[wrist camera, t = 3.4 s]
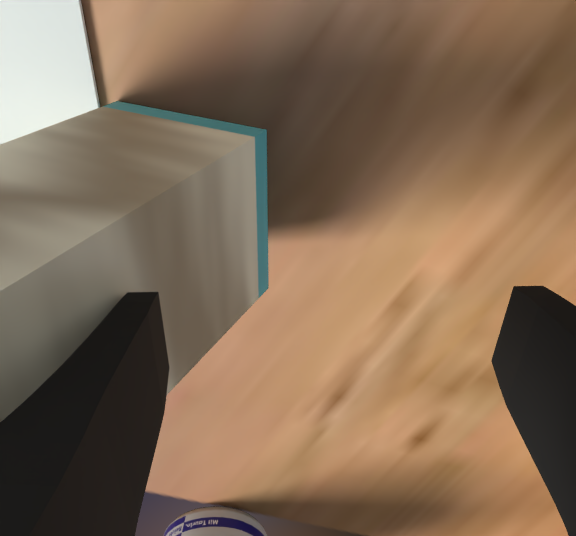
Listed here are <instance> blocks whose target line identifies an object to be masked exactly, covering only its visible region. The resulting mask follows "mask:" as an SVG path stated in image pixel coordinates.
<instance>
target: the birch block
mask: <svg viewBox="0 0 576 536" xmlns="http://www.w3.org/2000/svg"><path fill="white" fill-rule="evenodd" d="M267 289H268V204H267V130H266V129H260V128H255V127H250V126H245V125H240V124H234V123H229V122H224V121H219V120H214V119H208V118H203V117H198V116H193V115H187V114H182V113H177V112H172V111H167V110H161V109H156V108H151V107H146V106H140V105H135V104H130V103H125V102H120V101H116V102H113V103H111V104H108V105H105V106H102V107H100V108H97V109H94V110H92V111H89V112H86V113H84V114H81V115H78V116H76V117H73V118H70V119H68V120H65V121H62V122H59V123H57V124H54V125H51V126H49V127H46V128H43V129H41V130H38V131H35V132H33V133H30V134H27V135H25V136H22V137H19V138H16V139H14V140H11V141H8V142H6V143H3V144H0V422H1V421H2V420H4V419H5V418H6V417H7V416H8V415H9V414H11V413H12V412H13V411H14V410H15V409H16V408H17V407H18V406H20V405H21V404H22V403H23V402H24V401H25V400H26V399H27V398H28V397H29V396H30V395H31V394H33V393H34V392H35V391H36V390H37V389H38V388H39V387H40V386H41V385H42V384H43V383H44V382H45V381H46V380H47V379H48V378H49V377H50V376H51V375H52V374H53V373H54V372H55V371H56V370H57V369H58V368H59V367H60V366H61V365H62V364H63V363H64V362H65V361H66V360H67V359H68V358H69V357H70V356H71V355H72V353H73V352H74V351H75V350H76V349H77V348H78V347H79V346H80V345H81V344H82V343H83V342H84V341H85V339H86V338H87V337H88V336H89V335H90V334H91V333H92V332H93V331H94V329H95V328H96V327H97V326H98V325H99V324H100V323H101V321H102V320H103V319H104V318H105V317H106V316H107V315H108V313H109V312H110V311H111V310H112V309H113V308H114V306H115V305H116V304H117V303H118V302H119V301H120V300H121V298H122V297H123V296H124V295H125V294H126V293H127V292H159V299H160V306H161V313H162V320H163V327H164V333H165V340H166V347H167V354H168V361H169V367H170V368H169V377H168V386H167V394H168V393H169V392H170V391H171V390H172V389H173V388H174V387H175V386H176V385H177V384H178V383H179V381H180V380H181V379H182V378H183V377H184V376H185V375H186V374H187V373H188V372H189V371H190V370H191V369H192V368H193V367H194V366H195V365H196V364H197V363H198V361H199V360H200V359H201V358H202V357H203V356H204V355H205V354H206V353H207V352H208V351H209V350H210V349H211V348H212V347H213V346H214V345H215V344H216V343H217V342H218V340H219V339H220V338H221V337H222V336H223V335H224V334H225V333H226V332H227V331H228V330H229V329H230V328H231V327H232V326H233V325H234V324H235V323H236V322H237V320H238V319H239V318H240V317H241V316H242V315H243V314H244V313H245V312H246V311H247V310H248V309H249V308H250V307H251V306H252V305H253V304H254V303H255V302H256V301H257V299H258V298H259V297H260V296H261V295H262V294H263V293H264V292H265V291H266V290H267ZM167 394H166V395H167Z"/></svg>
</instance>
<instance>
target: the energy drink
mask: <svg viewBox="0 0 576 536" xmlns="http://www.w3.org/2000/svg"><path fill="white" fill-rule="evenodd" d="M164 536H267V533H266V531H265V529H264V528H263V526H262V525H261V524H260V523H259V522H258V521H257V520H256V519H255V518H254V517H252V516H251V515H250V514H248V513H245V512H243V511H241V510H237V509H234V508H228V507H215V506H213V507H203V508H198V509H194V510H191V511H188V512H186V513H184V514H183V515H181V516H179V517H178V518H177V519H176V520H175V521H174V522H172V523H171V524H170V525H169V527H168V528H167V529H166V531H165V533H164Z"/></svg>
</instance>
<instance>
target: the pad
mask: <svg viewBox="0 0 576 536" xmlns="http://www.w3.org/2000/svg"><path fill="white" fill-rule="evenodd" d="M97 108H100V103H99V98H98V92H97V87H96V81H95V76H94V70H93V65H92V59H91V54H90V48H89V42H88V37H87V31H86V26H85V20H84V15H83V9H82V4H81V0H0V144H3V143H6V142H8V141H11V140H14V139H16V138H19V137H22V136H25V135H27V134H30V133H33V132H35V131H38V130H41V129H43V128H46V127H49V126H51V125H54V124H57V123H59V122H62V121H65V120H68V119H70V118H73V117H76V116H78V115H81V114H84V113H86V112H89V111H92V110H94V109H97Z"/></svg>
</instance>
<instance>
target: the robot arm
mask: <svg viewBox="0 0 576 536" xmlns="http://www.w3.org/2000/svg"><path fill="white" fill-rule="evenodd" d="M492 364H493V367H494V370H495V373H496V377H497V380H498V383H499V386H500V389H501V392H502V394H503V397H504V400H505V403H506V405H507V407H508V410H509V412H510V414H511V416H512V418H513V420H514V422H515V424H516V426H517V428H518V430H519V432H520V434H521V436H522V438H523V440H524V442H525V444H526V446H527V448H528V450H529V452H530V454H531V456H532V458H533V460H534V462H535V464H536V466H537V468H538V470H539V472H540V474H541V476H542V478H543V480H544V482H545V484H546V486H547V488H548V490H549V492H550V494H551V496H552V498H553V500H554V502H555V504H556V507H557V509H558V511H559V513H560V516H561V518H562V520H563V522H564V524H565V527H566V529H567V532H568V535H569V536H576V306H575V305H573V304H572V303H570V302H569V301H567V300H565V299H564V298H562V297H561V296H559V295H558V294H556V293H554V292H553V291H551V290H549V289H548V288H546V287H544V286H514V287H513V290H512V294H511V297H510V301H509V304H508V307H507V311H506V314H505V317H504V321H503V324H502V327H501V331H500V334H499V337H498V341H497V344H496V347H495V351H494V354H493V357H492ZM169 368H170V367H169V361H168V354H167V347H166V340H165V333H164V327H163V320H162V313H161V306H160V299H159V292H127V293H126V294H125V295H124V296H123V297H122V298H121V300H120V301H119V302H118V303H117V304H116V305H115V306H114V308H113V309H112V310H111V311H110V312H109V313H108V315H107V316H106V317H105V318H104V319H103V320H102V321H101V323H100V324H99V325H98V326H97V327H96V328H95V329H94V331H93V332H92V333H91V334H90V335H89V336H88V337H87V338H86V339H85V341H84V342H83V343H82V344H81V345H80V346H79V347H78V348H77V349H76V350H75V351H74V352H73V353H72V355H71V356H70V357H69V358H68V359H67V360H66V361H65V362H64V363H63V364H62V365H61V366H60V367H59V368H58V369H57V370H56V371H55V372H54V373H53V374H52V375H51V376H50V377H49V378H48V379H47V380H46V381H45V382H44V383H43V384H42V385H41V386H40V387H39V388H38V389H37V390H36V391H35V392H34V393H33V394H31V395H30V396H29V397H28V398H27V399H26V400H25V401H24V402H23V403H22V404H21V405H20V406H18V407H17V408H16V409H15V410H14V411H13V412H12V413H11V414H9V415H8V416H7V417H6V418H5V419H4V420H2V421H1V422H0V536H135V532H136V526H137V522H138V517H139V513H140V509H141V505H142V501H143V496H144V493H145V489H146V485H147V481H148V477H149V473H150V469H151V465H152V461H153V457H154V453H155V449H156V444H157V440H158V436H159V432H160V428H161V424H162V420H163V415H164V410H165V402H166V394H167V386H168V377H169Z"/></svg>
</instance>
